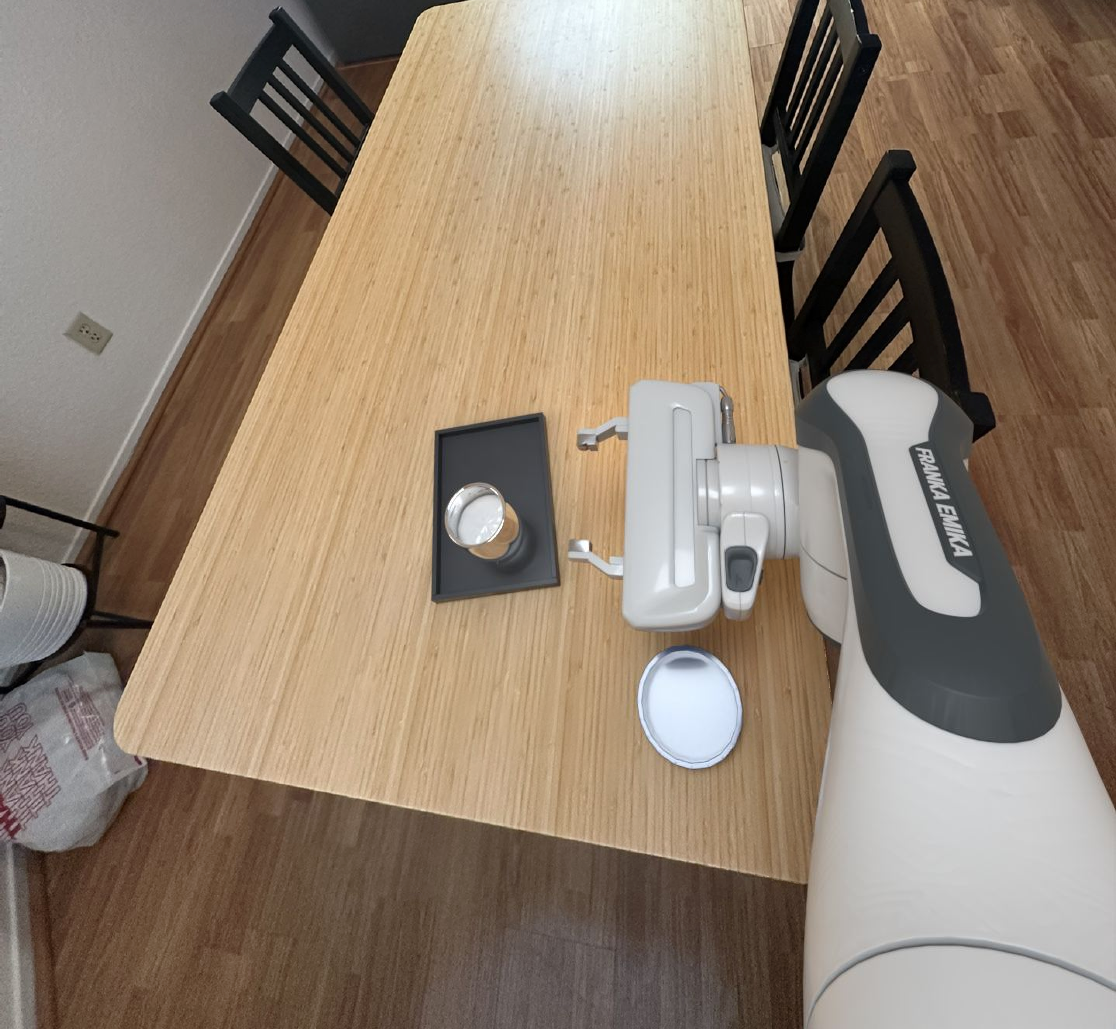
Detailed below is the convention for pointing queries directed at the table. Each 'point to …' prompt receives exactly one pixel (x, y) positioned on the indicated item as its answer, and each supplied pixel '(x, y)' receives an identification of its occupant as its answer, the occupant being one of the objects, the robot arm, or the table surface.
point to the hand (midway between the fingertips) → (573, 492)
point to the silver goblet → (489, 527)
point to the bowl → (689, 707)
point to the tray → (517, 472)
